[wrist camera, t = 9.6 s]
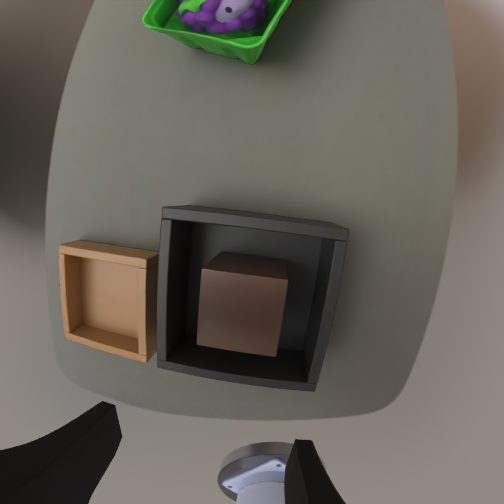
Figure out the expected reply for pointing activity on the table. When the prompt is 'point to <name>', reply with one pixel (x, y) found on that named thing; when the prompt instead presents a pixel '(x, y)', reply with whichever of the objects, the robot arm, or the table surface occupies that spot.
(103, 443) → the robot arm
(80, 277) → the kraft box
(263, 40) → the fruit basket
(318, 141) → the table surface
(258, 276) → the walnut block
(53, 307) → the table surface
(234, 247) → the black basket
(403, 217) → the table surface
